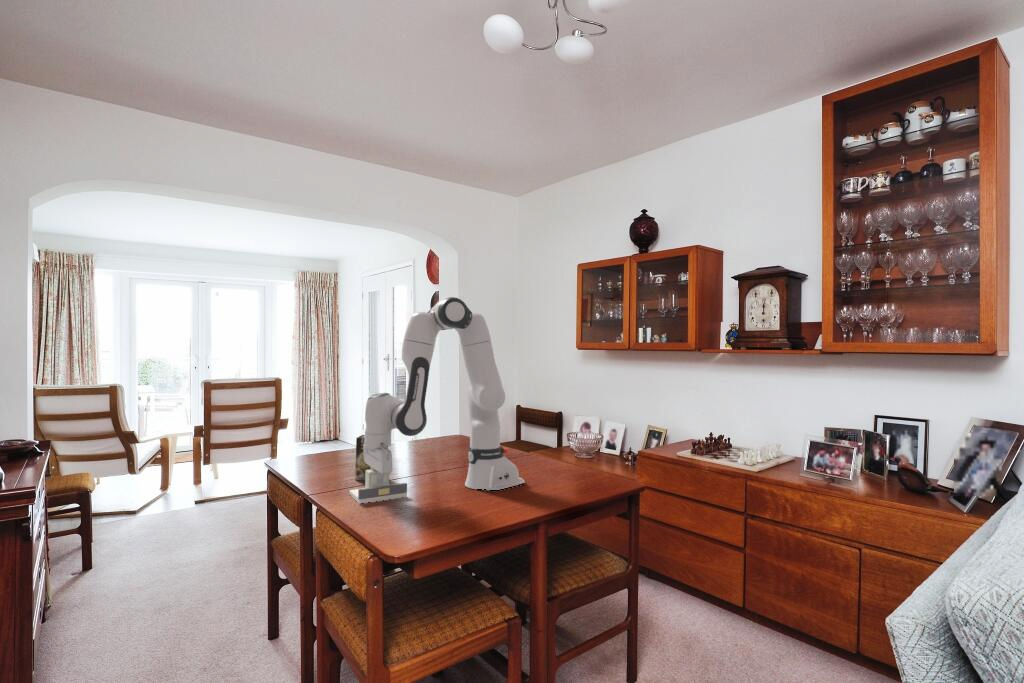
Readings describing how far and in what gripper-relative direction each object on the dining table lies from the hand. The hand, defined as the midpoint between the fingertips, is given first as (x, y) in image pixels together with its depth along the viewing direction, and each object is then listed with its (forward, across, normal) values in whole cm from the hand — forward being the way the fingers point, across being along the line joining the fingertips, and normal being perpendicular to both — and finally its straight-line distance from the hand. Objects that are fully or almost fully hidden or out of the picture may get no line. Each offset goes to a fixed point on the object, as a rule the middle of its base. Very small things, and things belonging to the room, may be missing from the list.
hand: (377, 481), depth 173 cm
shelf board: (+5, -1, 0) cm, 5 cm away
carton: (+2, 0, 0) cm, 2 cm away
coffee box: (+5, +22, -4) cm, 23 cm away
